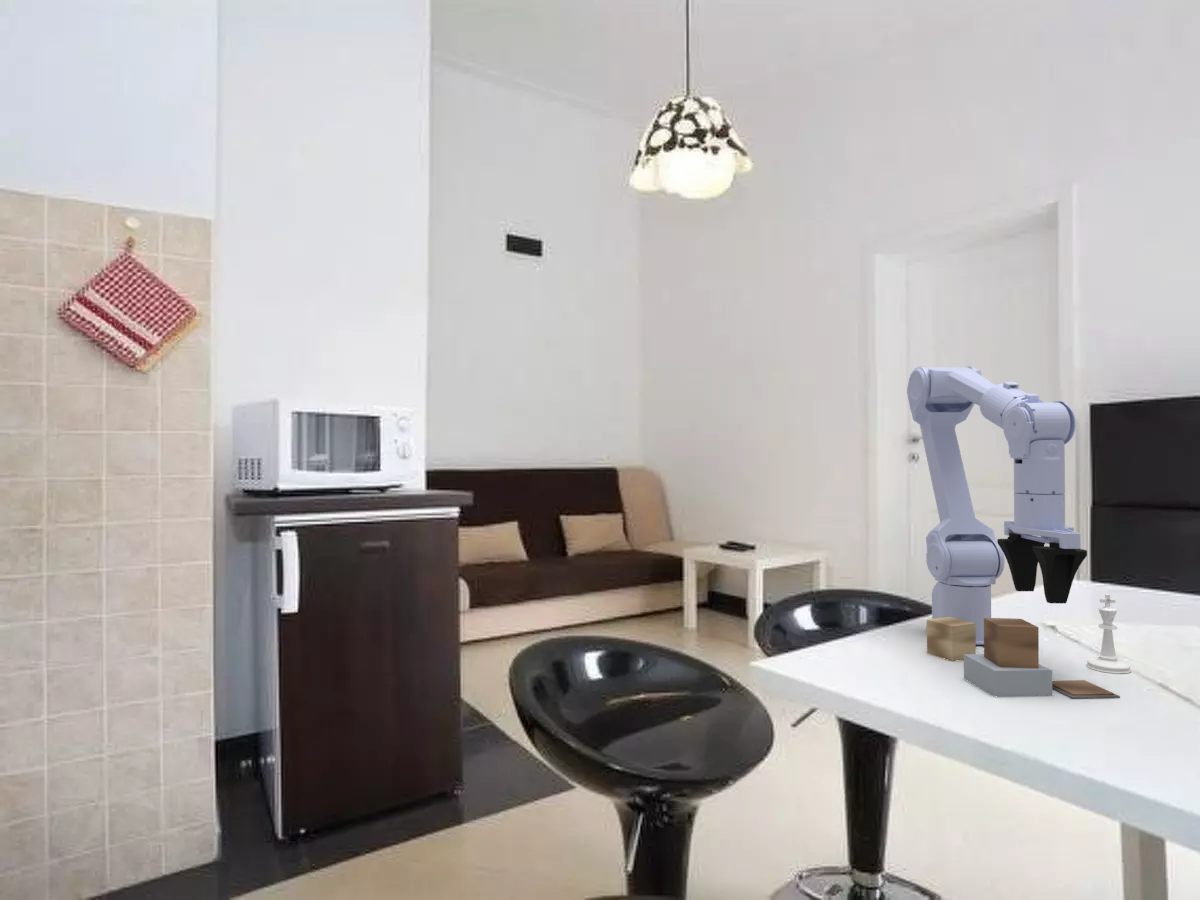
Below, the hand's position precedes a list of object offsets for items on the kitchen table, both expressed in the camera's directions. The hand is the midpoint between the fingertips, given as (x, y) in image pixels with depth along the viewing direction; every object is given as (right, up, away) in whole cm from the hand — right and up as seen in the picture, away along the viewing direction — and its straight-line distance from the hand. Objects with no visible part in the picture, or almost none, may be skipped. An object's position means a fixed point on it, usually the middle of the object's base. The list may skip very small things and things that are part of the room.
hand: (1039, 596), depth 94 cm
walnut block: (-7, -7, -5) cm, 11 cm away
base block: (-7, -11, -4) cm, 14 cm away
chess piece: (+11, -11, +3) cm, 15 cm away
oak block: (-7, -11, +10) cm, 16 cm away
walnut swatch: (+1, -10, -6) cm, 12 cm away
